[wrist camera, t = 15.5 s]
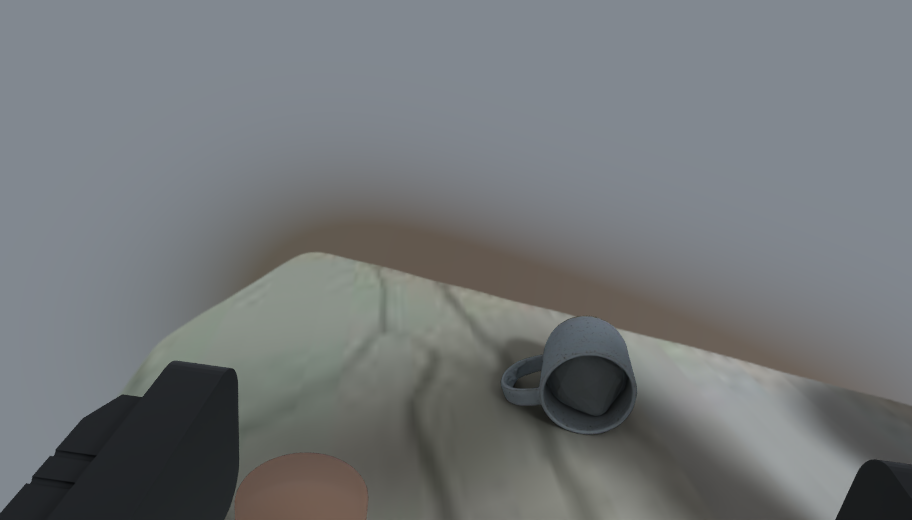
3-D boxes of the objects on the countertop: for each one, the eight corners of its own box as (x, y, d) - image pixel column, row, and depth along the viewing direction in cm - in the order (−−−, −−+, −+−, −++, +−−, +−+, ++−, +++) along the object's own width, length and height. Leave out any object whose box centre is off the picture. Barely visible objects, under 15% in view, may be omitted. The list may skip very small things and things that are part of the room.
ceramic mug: (617, 385, 65) (634, 311, 62) (626, 442, 58) (646, 362, 54) (502, 367, 66) (513, 294, 63) (496, 422, 58) (508, 342, 55)
